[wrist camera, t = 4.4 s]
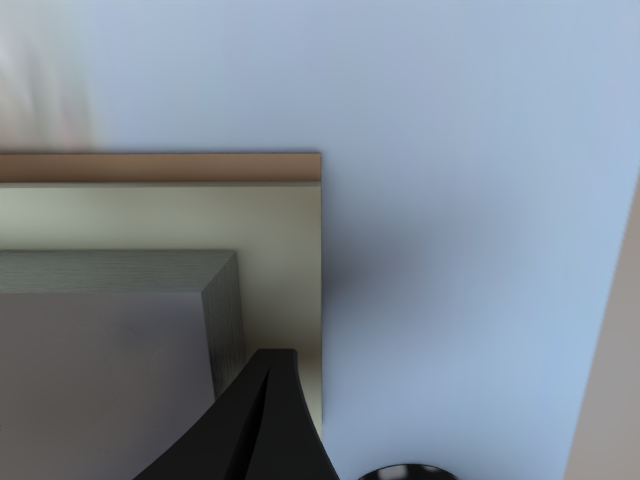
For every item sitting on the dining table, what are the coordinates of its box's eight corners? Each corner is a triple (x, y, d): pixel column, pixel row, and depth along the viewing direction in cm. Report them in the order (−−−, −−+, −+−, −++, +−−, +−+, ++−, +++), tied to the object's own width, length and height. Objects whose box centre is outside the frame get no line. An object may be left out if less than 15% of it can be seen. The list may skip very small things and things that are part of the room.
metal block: (253, 441, 12) (231, 534, 9) (-50, 443, 12) (-168, 536, 9) (236, 250, 10) (201, 292, 7) (-136, 252, 10) (-330, 294, 7)
